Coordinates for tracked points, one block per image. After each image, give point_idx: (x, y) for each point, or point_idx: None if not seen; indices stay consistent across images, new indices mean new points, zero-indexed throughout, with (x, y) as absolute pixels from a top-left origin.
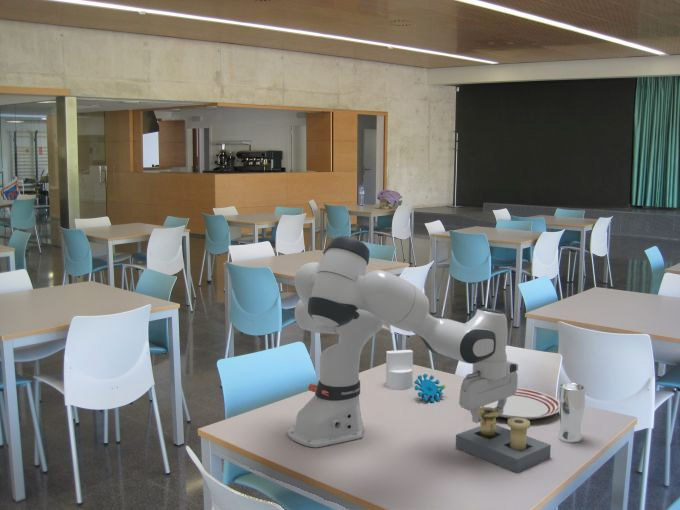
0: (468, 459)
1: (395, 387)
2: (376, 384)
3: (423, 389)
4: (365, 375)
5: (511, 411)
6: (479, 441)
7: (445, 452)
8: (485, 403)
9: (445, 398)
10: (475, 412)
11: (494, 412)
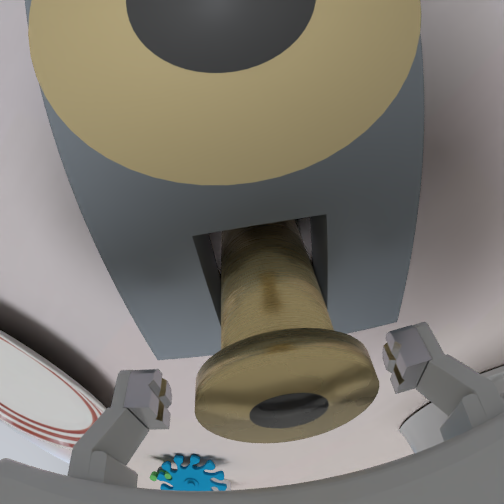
0: (433, 174)
1: (224, 482)
2: (239, 486)
3: (208, 482)
4: None
5: (27, 376)
6: (390, 221)
7: (435, 264)
8: (441, 464)
9: (154, 454)
10: (488, 379)
11: (273, 385)
